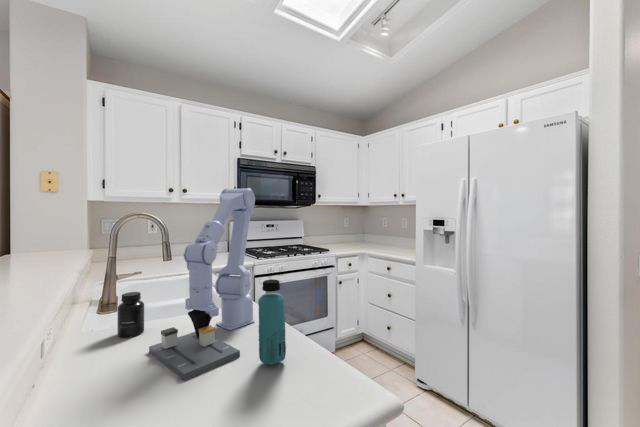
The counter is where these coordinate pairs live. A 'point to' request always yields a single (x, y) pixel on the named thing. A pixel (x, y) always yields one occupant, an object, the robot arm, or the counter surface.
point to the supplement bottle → (130, 315)
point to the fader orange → (207, 335)
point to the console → (193, 355)
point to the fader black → (169, 337)
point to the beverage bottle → (271, 324)
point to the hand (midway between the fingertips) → (201, 337)
